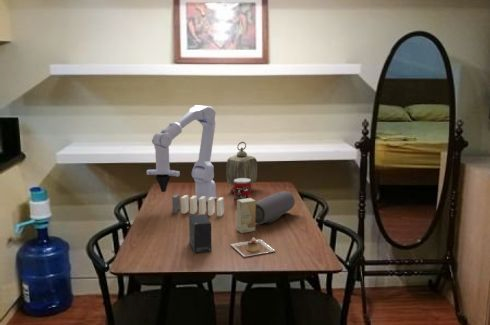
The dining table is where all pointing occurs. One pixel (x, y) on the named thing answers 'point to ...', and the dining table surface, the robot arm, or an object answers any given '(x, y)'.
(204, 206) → the domino
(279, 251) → the dining table surface
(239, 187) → the canned food
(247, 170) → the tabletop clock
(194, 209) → the domino
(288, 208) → the bluetooth speaker
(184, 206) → the domino
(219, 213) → the domino
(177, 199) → the domino
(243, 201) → the skincare box
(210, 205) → the domino
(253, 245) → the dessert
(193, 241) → the small box
